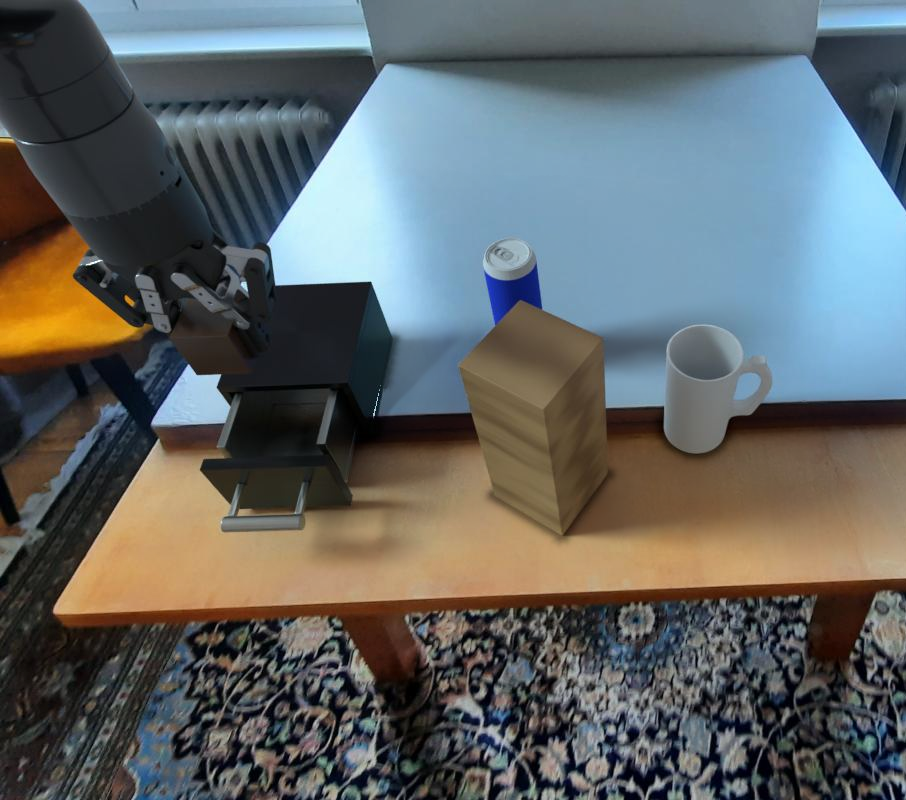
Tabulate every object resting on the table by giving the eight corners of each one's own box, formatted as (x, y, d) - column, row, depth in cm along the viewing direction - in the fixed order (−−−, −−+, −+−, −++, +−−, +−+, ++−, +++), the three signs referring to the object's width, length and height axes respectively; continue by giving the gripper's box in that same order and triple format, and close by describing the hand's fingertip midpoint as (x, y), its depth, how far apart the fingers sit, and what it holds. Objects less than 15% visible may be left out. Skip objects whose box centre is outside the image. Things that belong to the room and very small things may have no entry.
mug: (662, 456, 73) (668, 382, 63) (659, 402, 77) (664, 324, 67) (764, 455, 72) (786, 380, 63) (756, 401, 76) (775, 322, 67)
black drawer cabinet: (374, 437, 76) (347, 382, 69) (254, 441, 76) (216, 387, 69) (393, 338, 84) (371, 281, 77) (285, 343, 85) (253, 286, 77)
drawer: (341, 551, 67) (315, 513, 62) (220, 554, 68) (182, 517, 62) (372, 401, 78) (351, 357, 72) (266, 405, 78) (237, 361, 72)
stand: (562, 536, 68) (543, 409, 52) (494, 496, 71) (457, 364, 55) (608, 473, 72) (603, 337, 56) (542, 438, 75) (520, 299, 59)
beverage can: (556, 349, 82) (545, 246, 70) (530, 380, 80) (514, 279, 68) (519, 332, 84) (502, 229, 72) (492, 362, 81) (470, 260, 69)
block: (252, 373, 59) (227, 335, 55) (196, 375, 59) (168, 338, 55) (266, 331, 61) (243, 293, 58) (213, 333, 61) (187, 295, 58)
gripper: (-25, 218, 44) (128, 391, 58) (208, 207, 44) (307, 384, 57) (30, 144, 49) (160, 321, 62) (242, 134, 48) (326, 314, 62)
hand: (230, 350), depth 60 cm, fingers closed on block, 4 cm apart
